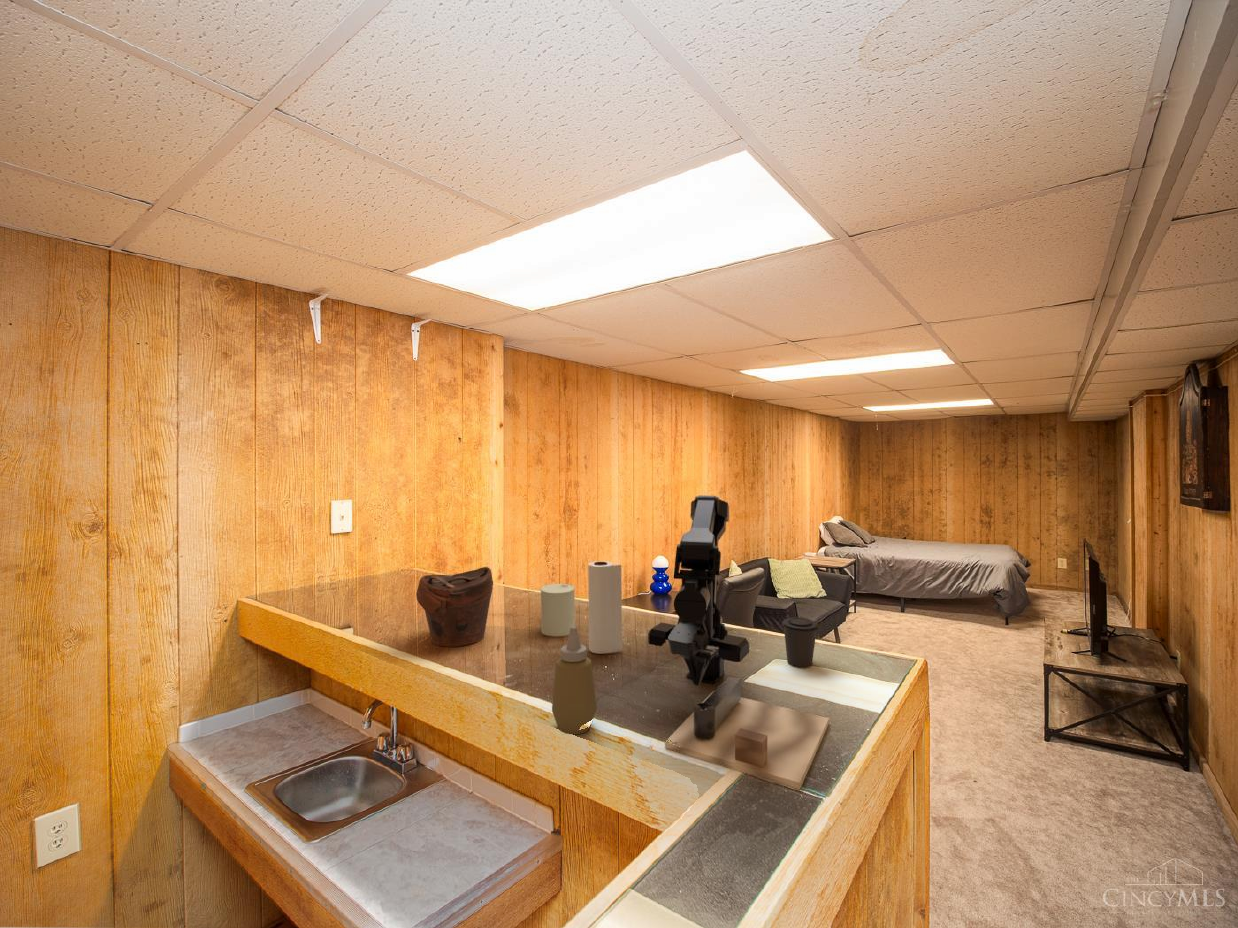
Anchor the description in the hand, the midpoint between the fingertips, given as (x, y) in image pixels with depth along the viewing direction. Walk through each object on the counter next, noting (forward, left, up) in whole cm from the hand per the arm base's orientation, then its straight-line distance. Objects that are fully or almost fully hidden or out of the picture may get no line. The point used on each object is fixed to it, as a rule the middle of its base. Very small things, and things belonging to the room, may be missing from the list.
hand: (697, 685), depth 108 cm
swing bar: (+6, -5, -3) cm, 8 cm away
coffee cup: (+12, +31, -4) cm, 33 cm away
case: (-68, +3, -4) cm, 68 cm away
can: (-49, +21, -4) cm, 53 cm away
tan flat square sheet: (+12, -5, -4) cm, 14 cm away
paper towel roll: (-31, +15, -4) cm, 35 cm away
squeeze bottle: (-16, -18, -4) cm, 25 cm away
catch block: (+15, -14, -3) cm, 21 cm away
